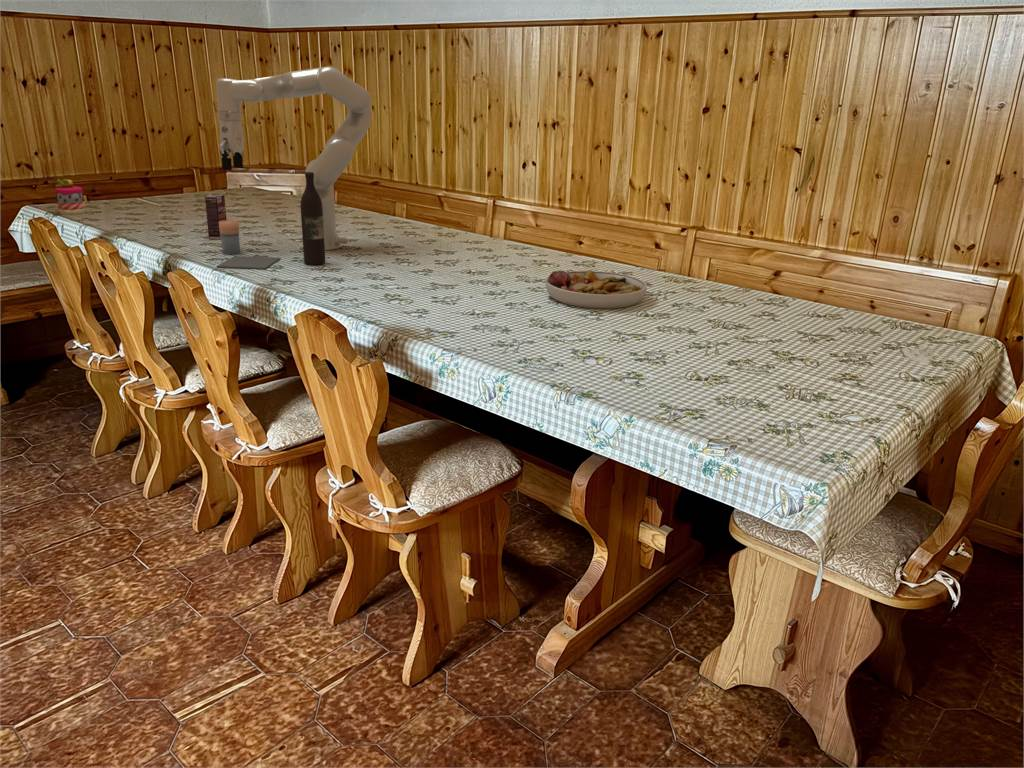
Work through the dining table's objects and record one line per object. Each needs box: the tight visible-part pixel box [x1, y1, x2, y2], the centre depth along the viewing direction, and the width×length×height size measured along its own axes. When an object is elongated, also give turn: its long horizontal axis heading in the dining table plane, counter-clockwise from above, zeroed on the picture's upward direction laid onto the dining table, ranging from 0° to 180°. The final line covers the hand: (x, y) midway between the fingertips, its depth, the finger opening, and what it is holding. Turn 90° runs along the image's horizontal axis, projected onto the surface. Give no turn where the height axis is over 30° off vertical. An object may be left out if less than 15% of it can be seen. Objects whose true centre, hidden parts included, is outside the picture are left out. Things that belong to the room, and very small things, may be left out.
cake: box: [54, 178, 86, 216], centre depth 343 cm, size 10×11×15 cm
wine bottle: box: [300, 171, 326, 266], centre depth 262 cm, size 7×7×30 cm
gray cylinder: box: [220, 233, 241, 255], centre depth 278 cm, size 6×6×7 cm
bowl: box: [544, 269, 648, 310], centre depth 234 cm, size 30×30×8 cm
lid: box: [219, 219, 240, 235], centre depth 276 cm, size 7×7×4 cm
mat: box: [216, 255, 282, 271], centre depth 264 cm, size 16×16×1 cm
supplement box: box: [204, 193, 228, 240], centre depth 302 cm, size 9×5×16 cm, turn 179°
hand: (232, 168), depth 274 cm, fingers open, 9 cm apart
